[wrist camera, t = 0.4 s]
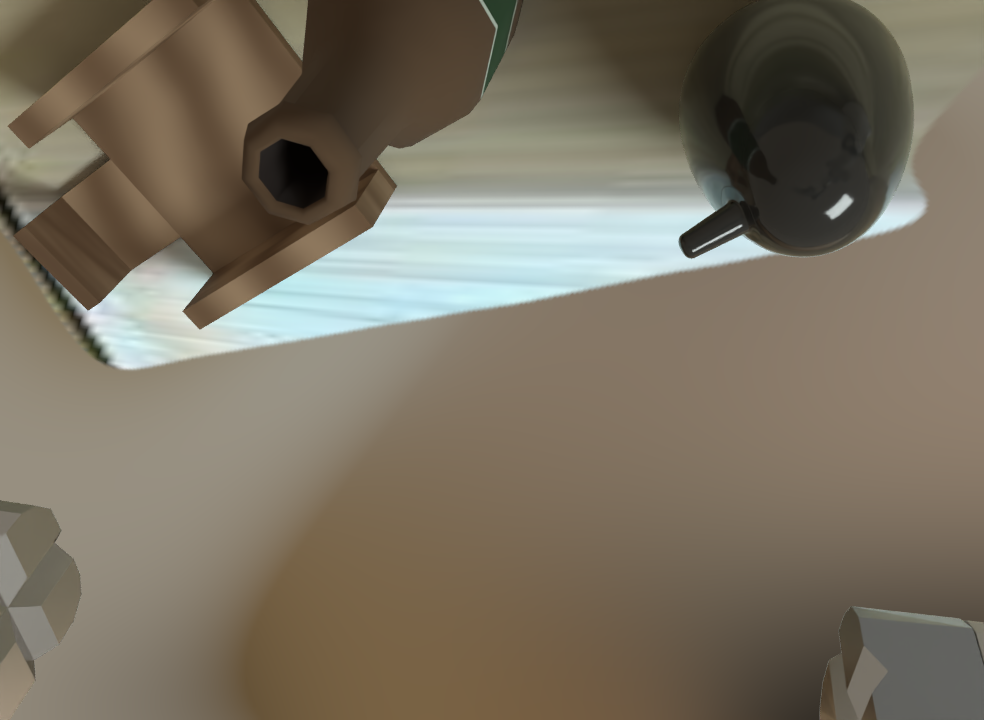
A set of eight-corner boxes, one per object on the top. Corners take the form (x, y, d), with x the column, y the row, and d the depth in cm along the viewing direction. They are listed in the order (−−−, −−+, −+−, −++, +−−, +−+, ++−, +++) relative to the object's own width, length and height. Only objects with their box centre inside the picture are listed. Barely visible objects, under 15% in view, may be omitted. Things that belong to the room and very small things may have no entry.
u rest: (220, -46, 47) (176, -21, 43) (396, 185, 54) (372, 226, 49) (0, 143, 57) (-54, 178, 53) (172, 323, 63) (136, 367, 59)
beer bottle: (477, 81, 49) (339, 333, 30) (355, -13, 47) (125, 191, 28) (567, -43, 45) (472, 160, 26) (435, -151, 43) (229, -20, 24)
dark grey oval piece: (644, 30, 46) (627, 153, 34) (858, -70, 42) (924, 29, 30) (717, 201, 51) (725, 363, 39) (917, 126, 46) (995, 281, 34)
